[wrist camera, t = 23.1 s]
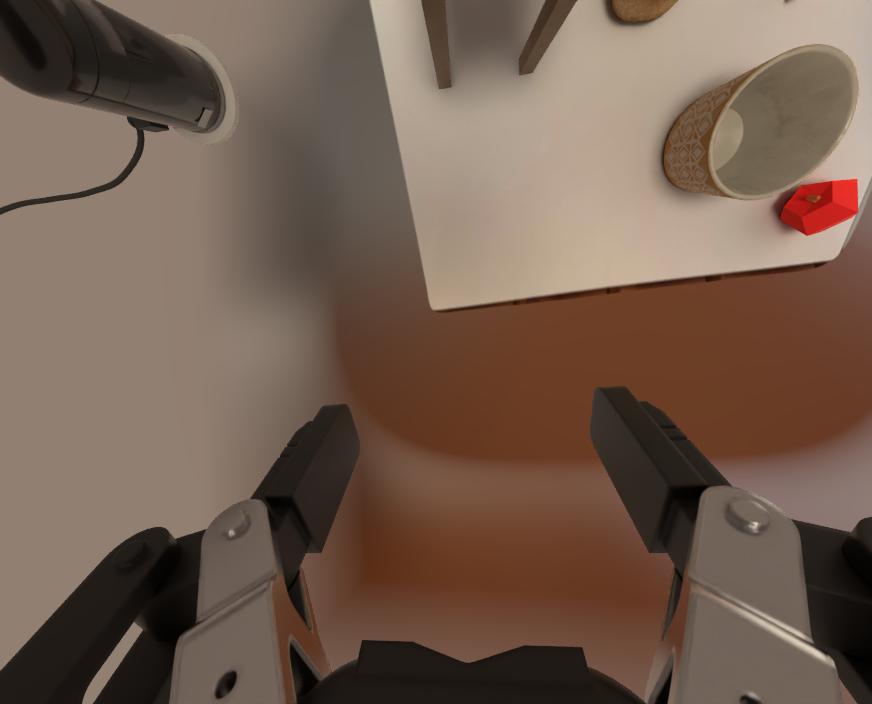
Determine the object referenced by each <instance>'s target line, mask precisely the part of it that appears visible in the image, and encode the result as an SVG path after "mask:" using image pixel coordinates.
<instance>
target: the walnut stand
mask: <svg viewBox="0 0 872 704" xmlns="http://www.w3.org/2000/svg"><path fill="white" fill-rule="evenodd" d="M576 1H577V0H546V1H545V3H544V5H543V7H542V10H541V12H540V14H539V16H538V18H537V21H536V23H535V25H534V27H533V29H532V32H531V34H530V36H529V38H528V40H527V43H526V45H525V47H524V49H523V51H522V54H521V56H520V58H519V75H522V74H528V73H532V72H533V71H534V69H535V68H536V66H537V64H538V63H539V61H540V60H541V58H542V56H543V55H544V53H545V51H546V50H547V48H548V47H549V45H550V43H551V42H552V40H553V38H554V37H555V35H556V34H557V32H558V30H559V29H560V27H561V26H562V24H563V22H564V21H565V19H566V17H567V16H568V14H569V13H570V11H571V9H572V8H573V6H574V5H575V3H576ZM421 2H422V7H423V12H424V17H425V21H426V26H427V31H428V36H429V41H430V46H431V51H432V56H433V61H434V66H435V71H436V76H437V81H438V86H439V89H443V88H448V87H452V85H451V72H450V59H449V46H448V33H447V20H446V7H445V0H421Z"/></svg>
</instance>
